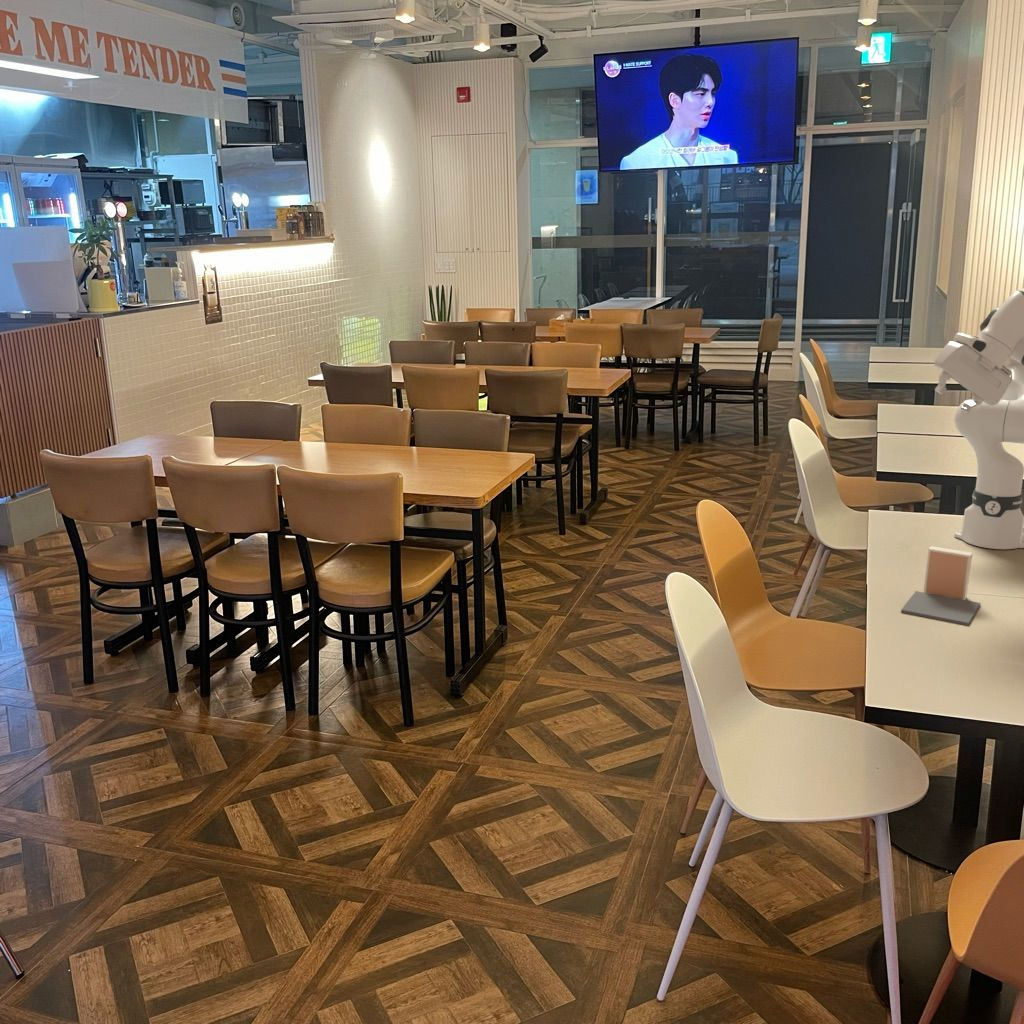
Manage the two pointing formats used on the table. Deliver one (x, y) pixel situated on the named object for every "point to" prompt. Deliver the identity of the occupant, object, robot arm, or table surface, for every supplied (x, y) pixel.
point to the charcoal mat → (941, 607)
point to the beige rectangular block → (947, 572)
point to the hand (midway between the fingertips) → (951, 401)
